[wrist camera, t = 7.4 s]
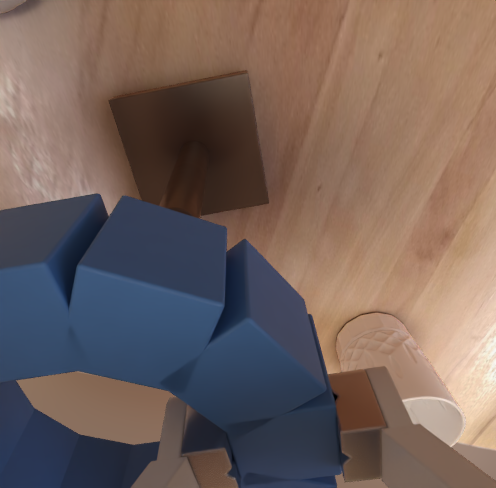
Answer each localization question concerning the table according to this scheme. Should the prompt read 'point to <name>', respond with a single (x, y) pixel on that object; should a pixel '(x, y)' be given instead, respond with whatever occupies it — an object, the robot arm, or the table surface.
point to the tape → (156, 343)
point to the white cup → (402, 371)
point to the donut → (9, 5)
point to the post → (194, 145)
